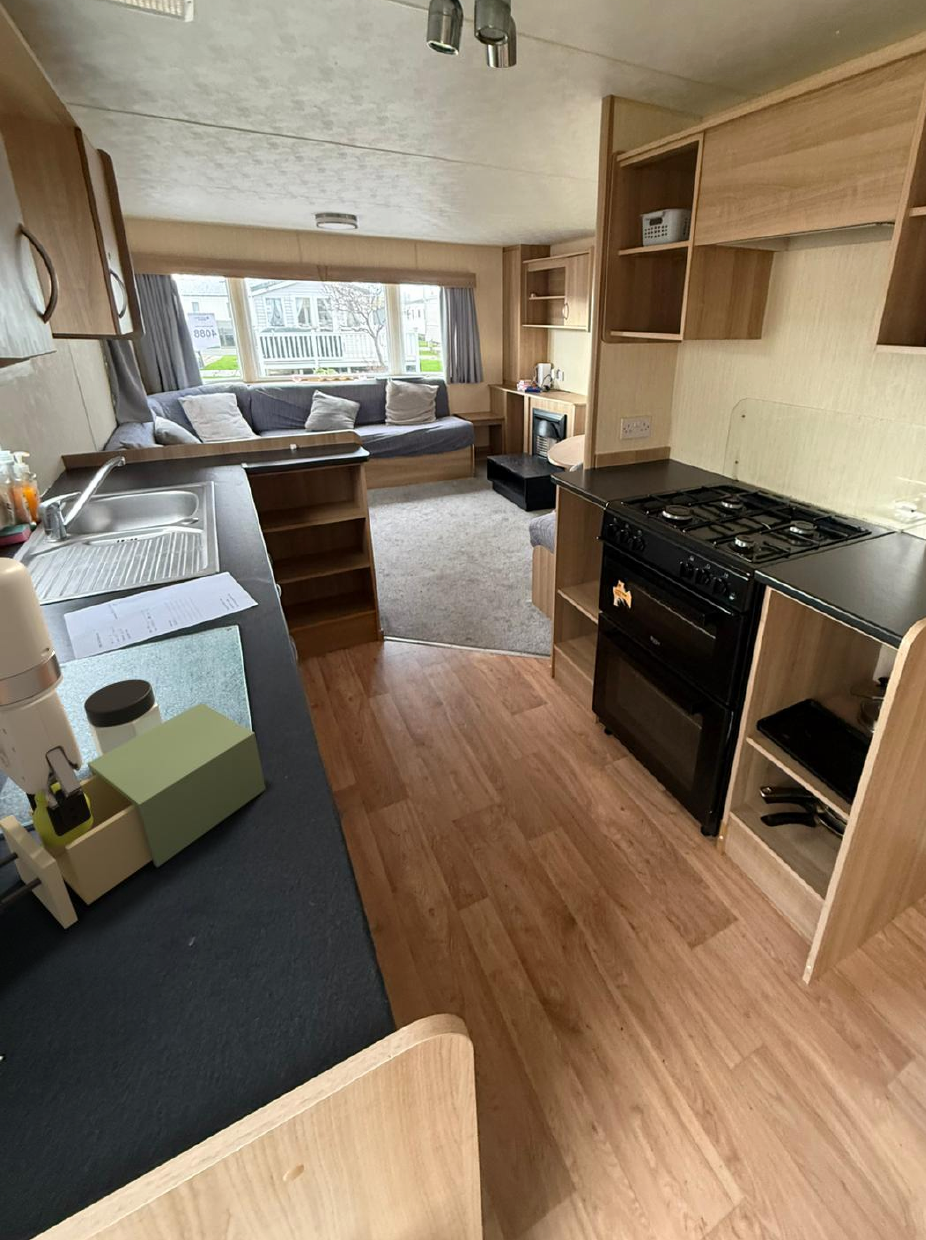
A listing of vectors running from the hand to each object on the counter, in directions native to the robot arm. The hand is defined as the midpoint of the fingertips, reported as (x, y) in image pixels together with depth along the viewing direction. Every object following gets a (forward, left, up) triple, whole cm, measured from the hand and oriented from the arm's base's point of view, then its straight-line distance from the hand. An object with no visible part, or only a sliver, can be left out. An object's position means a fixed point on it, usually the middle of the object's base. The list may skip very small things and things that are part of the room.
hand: (62, 814), depth 64 cm
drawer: (0, 0, -9) cm, 9 cm away
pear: (0, 0, -2) cm, 2 cm away
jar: (-16, +13, -11) cm, 23 cm away
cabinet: (0, +12, -10) cm, 16 cm away
